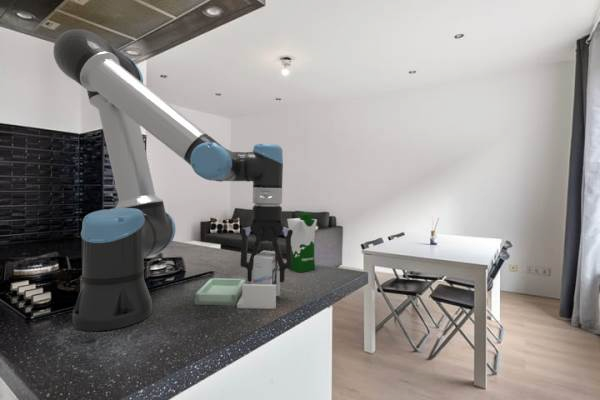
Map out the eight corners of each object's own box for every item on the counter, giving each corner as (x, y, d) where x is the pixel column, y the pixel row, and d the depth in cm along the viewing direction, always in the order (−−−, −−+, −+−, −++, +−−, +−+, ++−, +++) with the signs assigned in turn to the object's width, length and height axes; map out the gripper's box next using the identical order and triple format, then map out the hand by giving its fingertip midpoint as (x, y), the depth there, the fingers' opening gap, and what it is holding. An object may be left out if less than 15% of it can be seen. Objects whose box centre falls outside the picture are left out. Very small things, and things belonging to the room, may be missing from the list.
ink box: (261, 292, 88) (261, 249, 88) (279, 293, 88) (280, 250, 87) (251, 303, 80) (251, 256, 80) (271, 305, 79) (271, 257, 79)
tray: (194, 304, 79) (194, 294, 78) (210, 286, 93) (210, 278, 92) (235, 305, 78) (235, 295, 78) (245, 287, 92) (245, 278, 92)
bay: (237, 308, 77) (237, 285, 77) (246, 290, 90) (247, 270, 90) (275, 308, 77) (275, 286, 77) (279, 290, 90) (279, 271, 90)
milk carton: (299, 273, 108) (300, 214, 107) (283, 268, 115) (284, 212, 114) (318, 270, 114) (319, 213, 113) (302, 265, 121) (303, 212, 120)
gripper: (227, 205, 79) (226, 298, 80) (303, 206, 79) (301, 299, 80) (234, 203, 86) (233, 288, 87) (303, 205, 86) (301, 290, 87)
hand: (265, 293), depth 83 cm, fingers closed on ink box, 6 cm apart
